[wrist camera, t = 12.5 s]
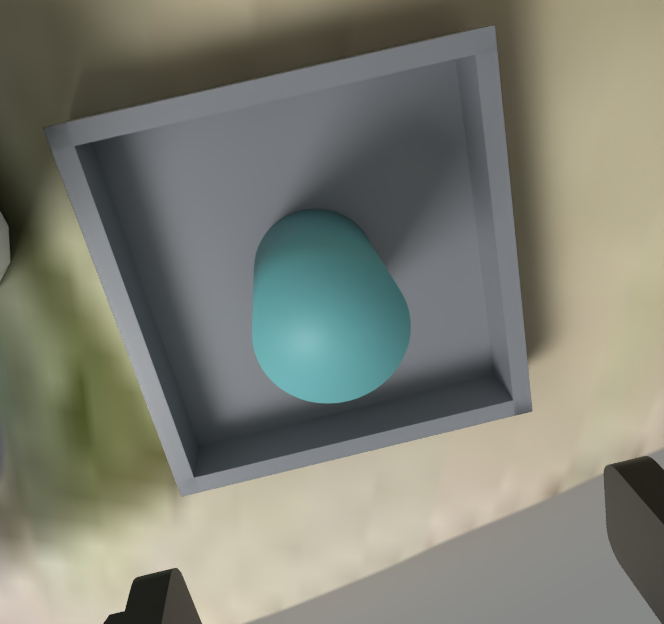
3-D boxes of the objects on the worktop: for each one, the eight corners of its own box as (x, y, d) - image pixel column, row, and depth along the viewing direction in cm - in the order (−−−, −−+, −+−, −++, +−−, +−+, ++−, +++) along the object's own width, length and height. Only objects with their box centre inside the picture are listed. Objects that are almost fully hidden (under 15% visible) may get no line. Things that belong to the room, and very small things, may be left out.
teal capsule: (362, 195, 26) (396, 239, 19) (384, 309, 28) (422, 383, 21) (239, 224, 26) (232, 277, 19) (270, 336, 28) (274, 418, 21)
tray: (468, 29, 24) (494, 25, 22) (507, 379, 31) (532, 411, 28) (67, 120, 24) (42, 127, 21) (188, 456, 30) (181, 496, 27)
